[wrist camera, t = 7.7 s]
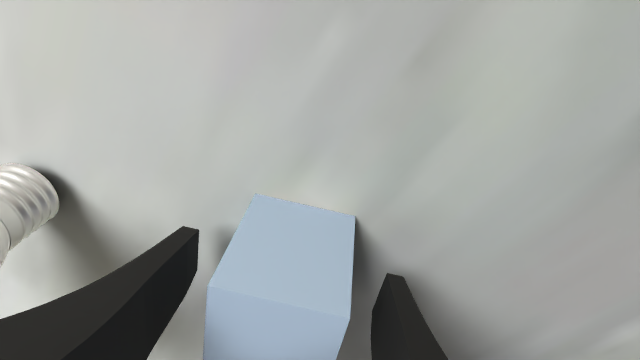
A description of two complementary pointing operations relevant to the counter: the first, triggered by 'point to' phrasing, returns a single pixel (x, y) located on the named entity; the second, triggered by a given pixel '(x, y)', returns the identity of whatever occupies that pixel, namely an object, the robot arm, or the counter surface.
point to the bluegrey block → (282, 285)
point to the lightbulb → (23, 204)
